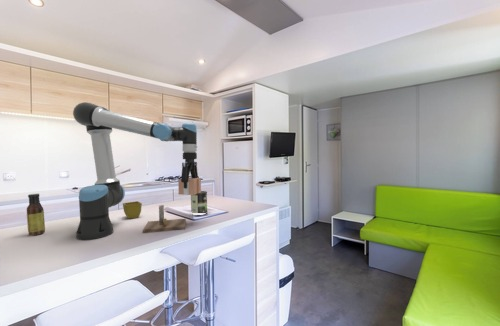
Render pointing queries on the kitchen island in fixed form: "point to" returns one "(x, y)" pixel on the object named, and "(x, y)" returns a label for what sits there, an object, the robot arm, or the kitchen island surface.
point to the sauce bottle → (35, 215)
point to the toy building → (191, 186)
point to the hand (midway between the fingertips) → (190, 192)
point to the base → (165, 228)
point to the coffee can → (199, 202)
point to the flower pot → (132, 209)
